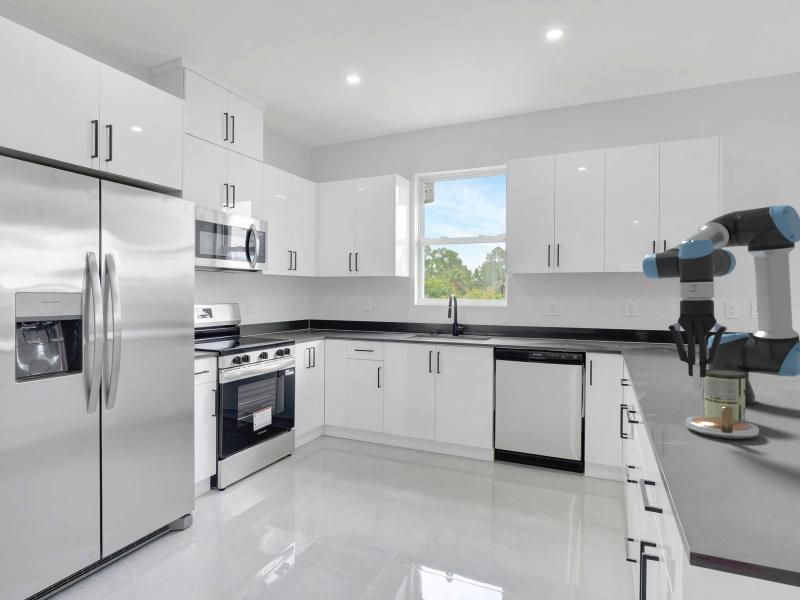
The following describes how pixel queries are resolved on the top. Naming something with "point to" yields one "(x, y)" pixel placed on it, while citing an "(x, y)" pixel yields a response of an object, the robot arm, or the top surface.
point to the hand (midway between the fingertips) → (697, 389)
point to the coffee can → (724, 392)
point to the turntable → (723, 425)
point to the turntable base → (724, 437)
